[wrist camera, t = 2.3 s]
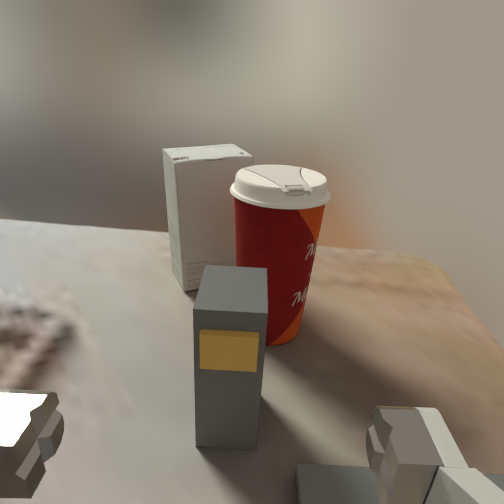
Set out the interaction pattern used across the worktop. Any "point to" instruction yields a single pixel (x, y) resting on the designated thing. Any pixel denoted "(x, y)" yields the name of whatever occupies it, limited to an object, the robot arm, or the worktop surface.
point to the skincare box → (201, 208)
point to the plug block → (229, 355)
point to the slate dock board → (345, 484)
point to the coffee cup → (279, 236)
